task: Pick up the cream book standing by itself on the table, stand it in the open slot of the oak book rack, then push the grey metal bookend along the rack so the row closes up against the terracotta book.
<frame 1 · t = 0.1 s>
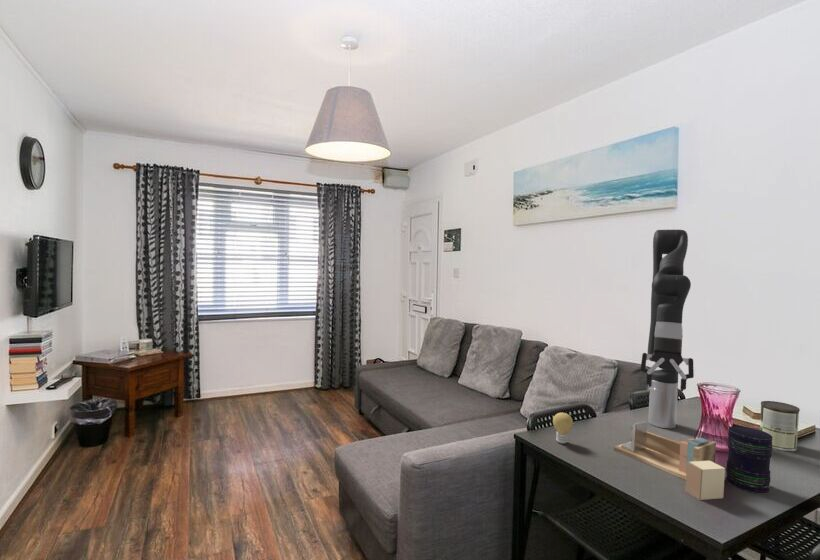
hand: (665, 388, 135), 22 cm above the table, tool pointing down, fingers open, 8 cm apart
clay tablet: (669, 448, 146), on the table
storage jar: (746, 485, 121), on the table
coffee can: (777, 445, 150), on the table
rack: (660, 462, 133), on the table
light bulb: (561, 442, 146), on the table
bookend: (634, 434, 141), point 6 cm above the table, slide at 0.0 cm
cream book: (704, 494, 115), on the table
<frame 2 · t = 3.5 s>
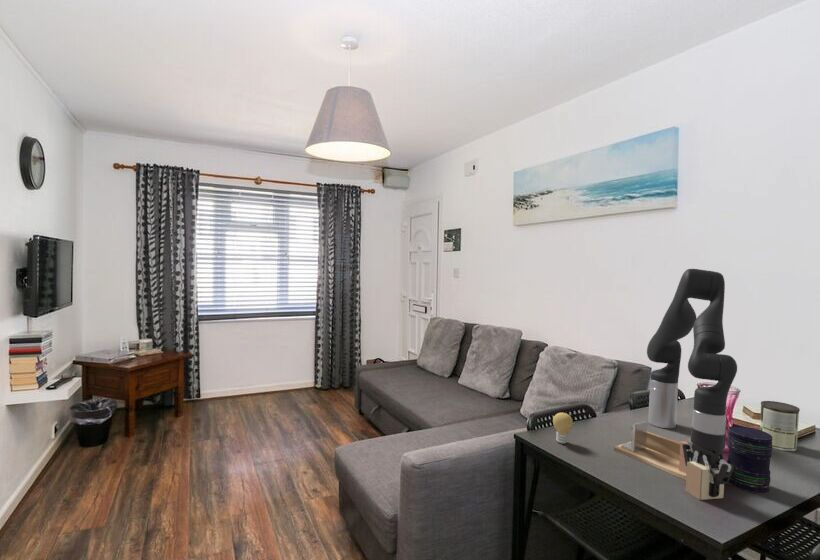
hand: (704, 490, 114), 1 cm above the table, tool pointing down, fingers closed on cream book, 4 cm apart
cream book: (704, 494, 115), on the table, touching gripper
everything else where it was.
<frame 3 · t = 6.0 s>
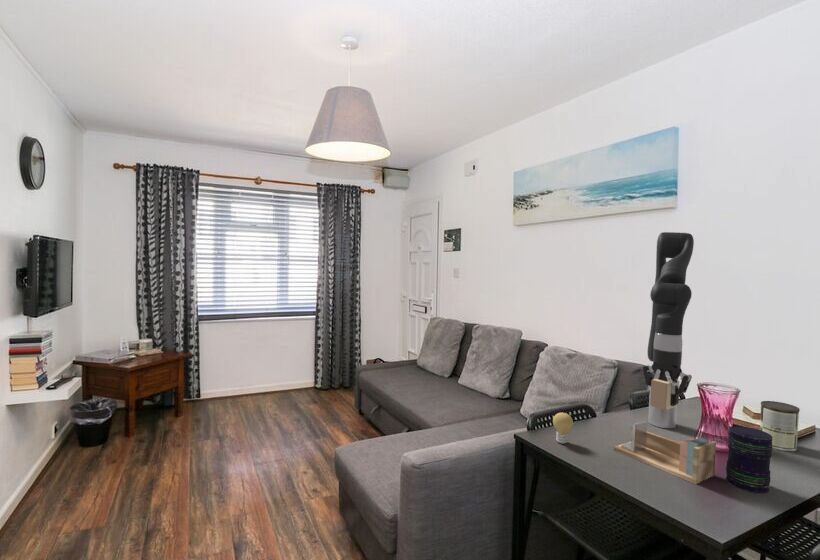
hand: (664, 402, 132), 19 cm above the table, tool pointing down, fingers closed on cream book, 4 cm apart
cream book: (664, 405, 132), point 18 cm above the table, touching gripper
everything else where it was.
when the fingers open (3 cm above the table, at t = 9.0 s): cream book drops 1 cm, resting on rack.
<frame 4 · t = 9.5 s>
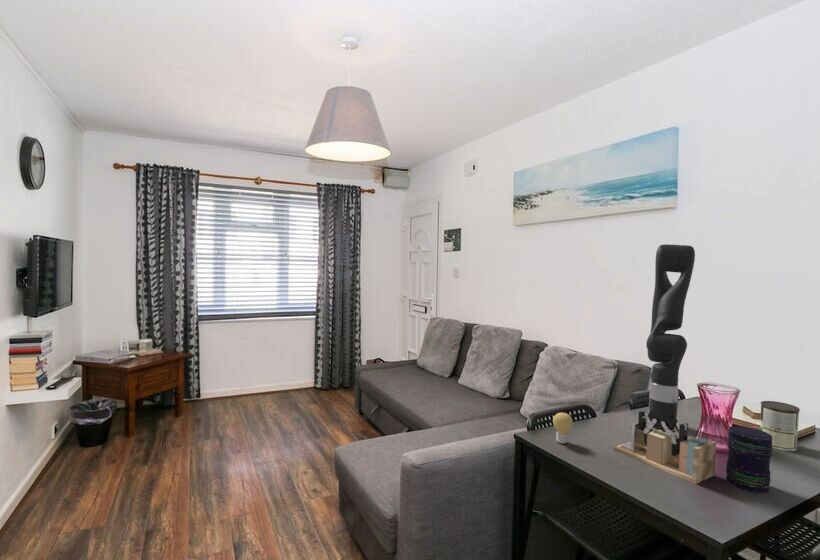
hand: (660, 450, 133), 4 cm above the table, tool pointing down, fingers open, 7 cm apart
bookend: (633, 434, 141), point 6 cm above the table, slide at -0.1 cm, touching hand
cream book: (660, 459, 133), point 1 cm above the table, touching rack
everything else where it was.
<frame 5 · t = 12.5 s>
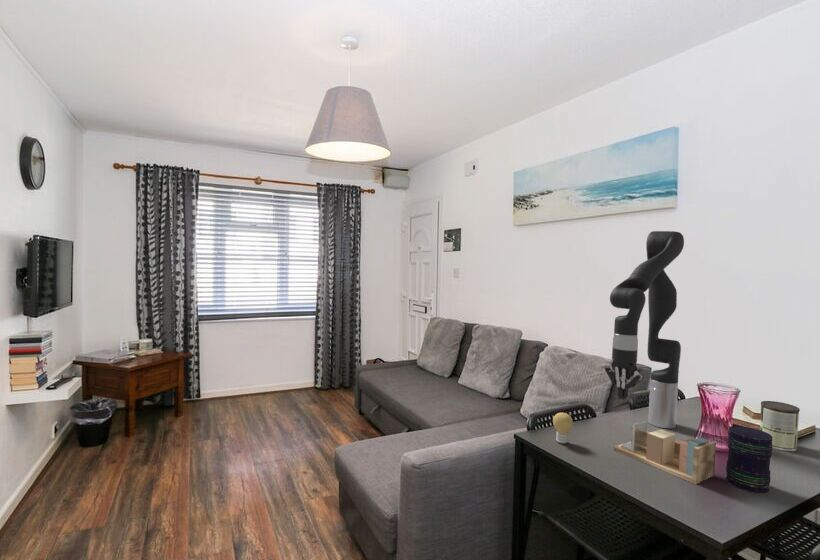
hand: (622, 398, 144), 16 cm above the table, tool pointing down, fingers closed
bookend: (634, 434, 141), point 6 cm above the table, slide at 0.0 cm
everything else where it was.
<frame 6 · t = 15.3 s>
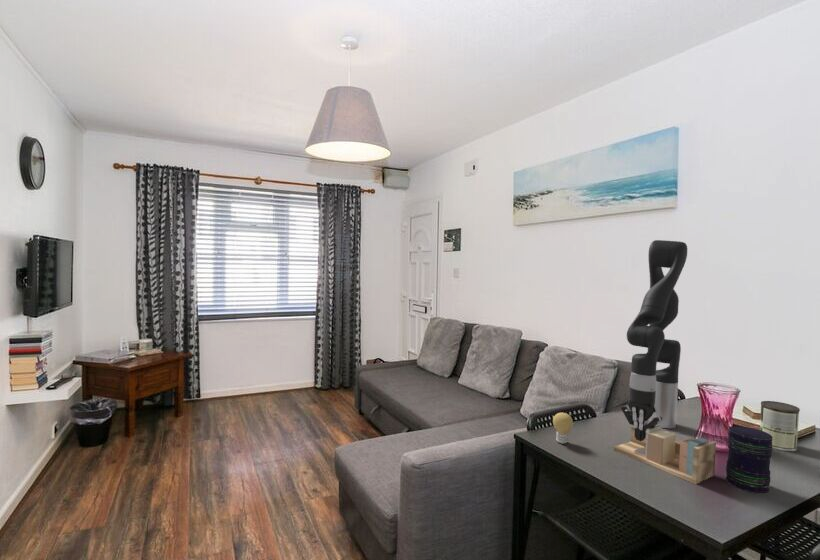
hand: (639, 440, 139), 5 cm above the table, tool pointing down, fingers closed
bookend: (647, 439, 137), point 6 cm above the table, slide at 4.5 cm, touching hand
everything else where it was.
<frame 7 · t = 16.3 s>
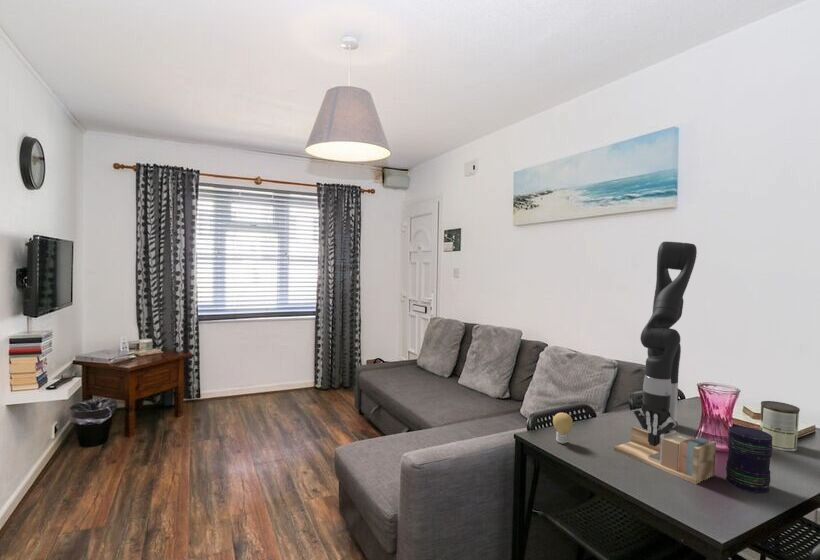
hand: (653, 445, 135), 5 cm above the table, tool pointing down, fingers closed
bookend: (662, 444, 133), point 6 cm above the table, slide at 9.0 cm, touching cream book, hand
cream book: (675, 465, 129), point 1 cm above the table, touching bookend, rack
everything else where it was.
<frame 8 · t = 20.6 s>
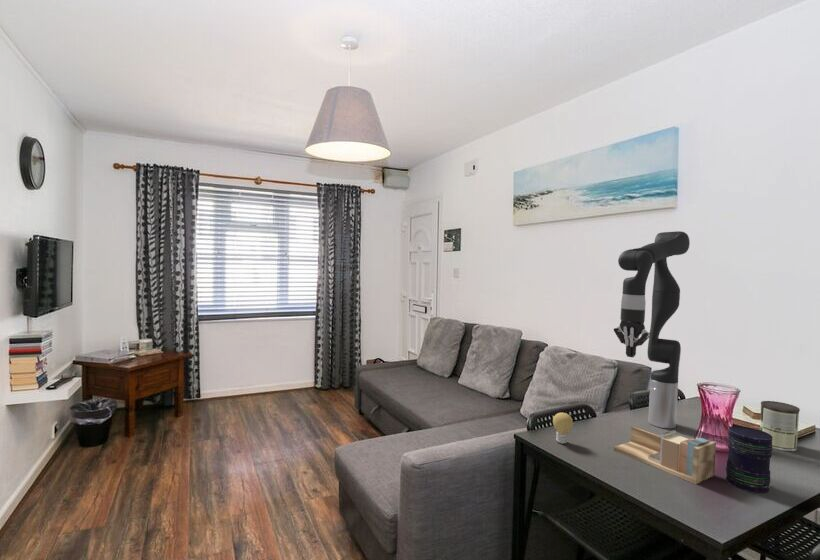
hand: (630, 356, 151), 29 cm above the table, tool pointing down, fingers closed
bookend: (662, 444, 133), point 6 cm above the table, slide at 9.0 cm
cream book: (675, 465, 129), point 1 cm above the table, touching rack
everything else where it was.
at the end: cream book 0.1 cm from the target spot, point 1.0 cm above the table; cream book tilted 0°; bookend slide at 9.0 cm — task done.
